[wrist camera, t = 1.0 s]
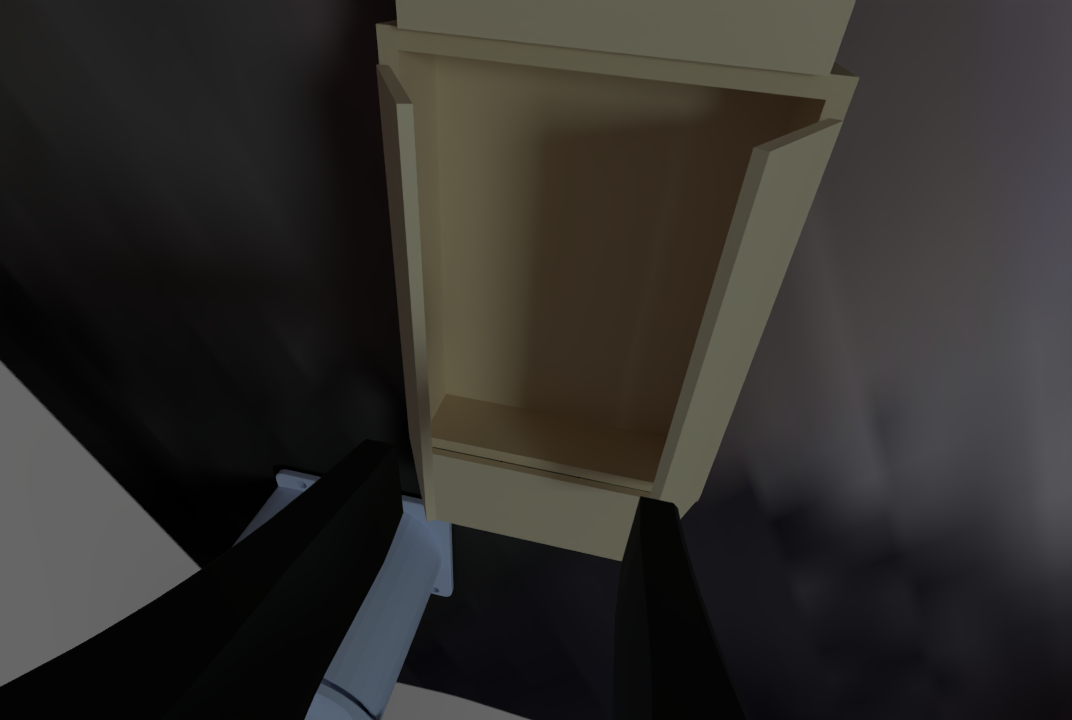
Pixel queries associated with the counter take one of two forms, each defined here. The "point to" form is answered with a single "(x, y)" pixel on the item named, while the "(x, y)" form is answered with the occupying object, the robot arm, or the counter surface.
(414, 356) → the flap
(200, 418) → the counter surface
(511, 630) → the counter surface
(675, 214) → the carton
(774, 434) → the counter surface
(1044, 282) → the counter surface
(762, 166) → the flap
